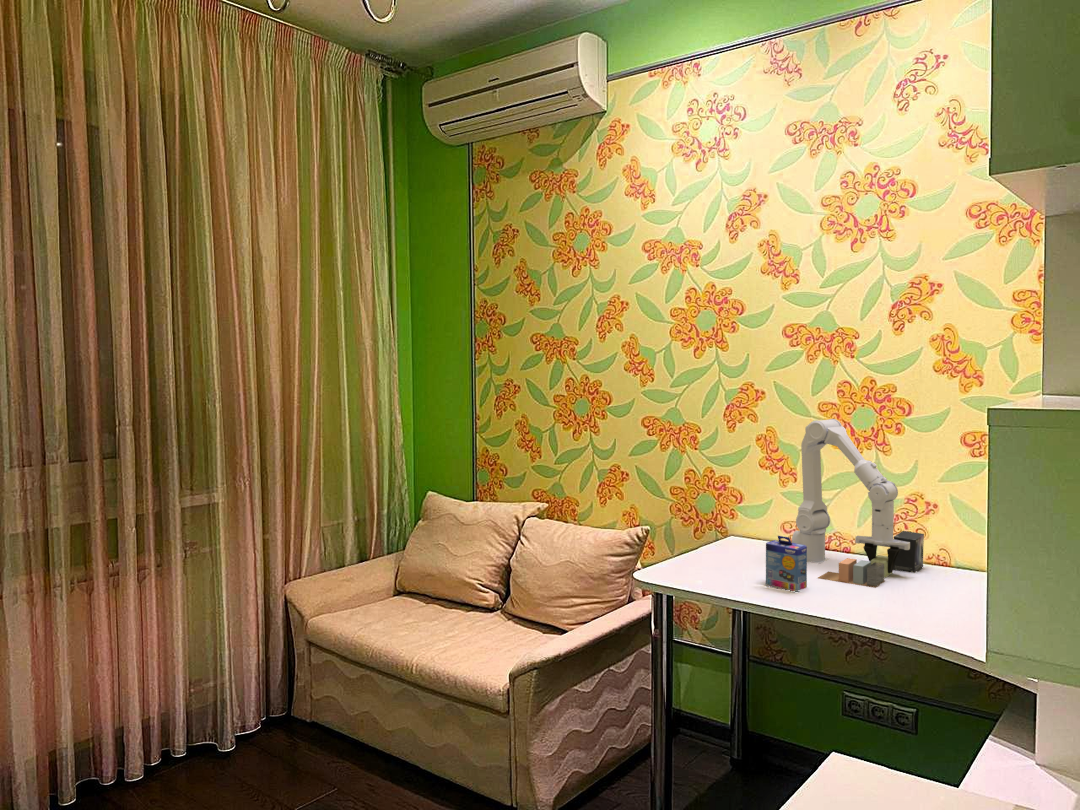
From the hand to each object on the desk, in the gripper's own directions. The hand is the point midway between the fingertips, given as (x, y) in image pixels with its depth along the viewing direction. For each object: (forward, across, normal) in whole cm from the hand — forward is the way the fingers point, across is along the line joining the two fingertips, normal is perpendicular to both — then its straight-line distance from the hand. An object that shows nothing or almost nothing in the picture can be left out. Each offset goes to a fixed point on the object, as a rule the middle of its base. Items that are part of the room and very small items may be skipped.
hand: (881, 571), depth 237 cm
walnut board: (+1, -5, -11) cm, 12 cm away
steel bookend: (+1, +2, -11) cm, 11 cm away
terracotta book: (+1, -6, -11) cm, 13 cm away
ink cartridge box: (+2, -17, -28) cm, 33 cm away
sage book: (+1, 0, 0) cm, 1 cm away
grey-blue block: (+1, -2, -11) cm, 11 cm away
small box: (+2, +4, +12) cm, 13 cm away
